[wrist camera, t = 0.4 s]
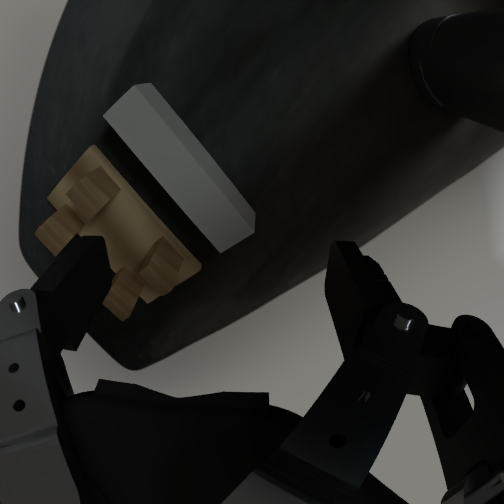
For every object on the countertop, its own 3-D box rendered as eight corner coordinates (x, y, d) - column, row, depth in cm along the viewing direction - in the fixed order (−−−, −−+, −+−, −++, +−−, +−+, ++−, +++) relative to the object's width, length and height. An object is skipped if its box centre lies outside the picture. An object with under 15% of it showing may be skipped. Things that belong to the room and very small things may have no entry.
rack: (94, 144, 26) (60, 163, 21) (201, 264, 32) (191, 303, 27) (51, 194, 28) (19, 220, 23) (149, 298, 35) (134, 335, 30)
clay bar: (151, 82, 23) (134, 85, 20) (255, 211, 29) (254, 232, 26) (123, 108, 24) (102, 115, 21) (225, 231, 31) (220, 253, 27)
